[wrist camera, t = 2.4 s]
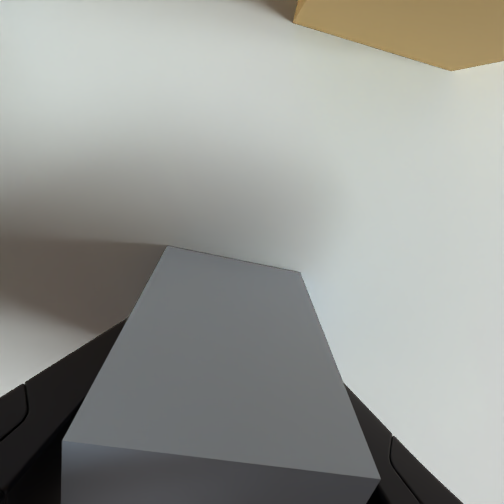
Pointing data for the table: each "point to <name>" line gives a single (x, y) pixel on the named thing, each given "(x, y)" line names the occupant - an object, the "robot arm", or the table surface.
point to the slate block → (218, 398)
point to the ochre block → (415, 28)
